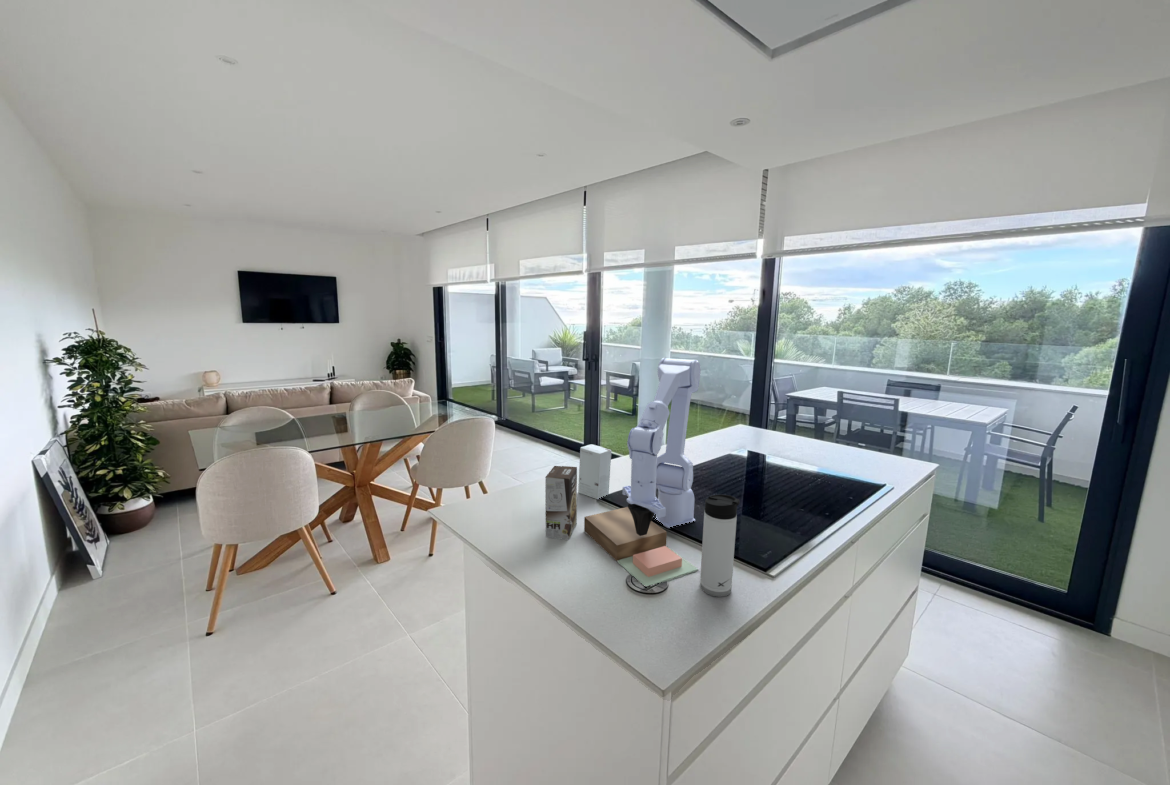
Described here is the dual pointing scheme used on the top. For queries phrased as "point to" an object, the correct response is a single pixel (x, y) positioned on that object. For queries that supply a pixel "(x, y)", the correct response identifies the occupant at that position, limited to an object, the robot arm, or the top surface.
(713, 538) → the travel mug
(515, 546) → the top surface
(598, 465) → the skincare box
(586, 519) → the block
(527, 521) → the top surface
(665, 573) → the sage mat
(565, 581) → the top surface
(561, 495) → the coffee box
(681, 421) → the robot arm
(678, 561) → the coral block
